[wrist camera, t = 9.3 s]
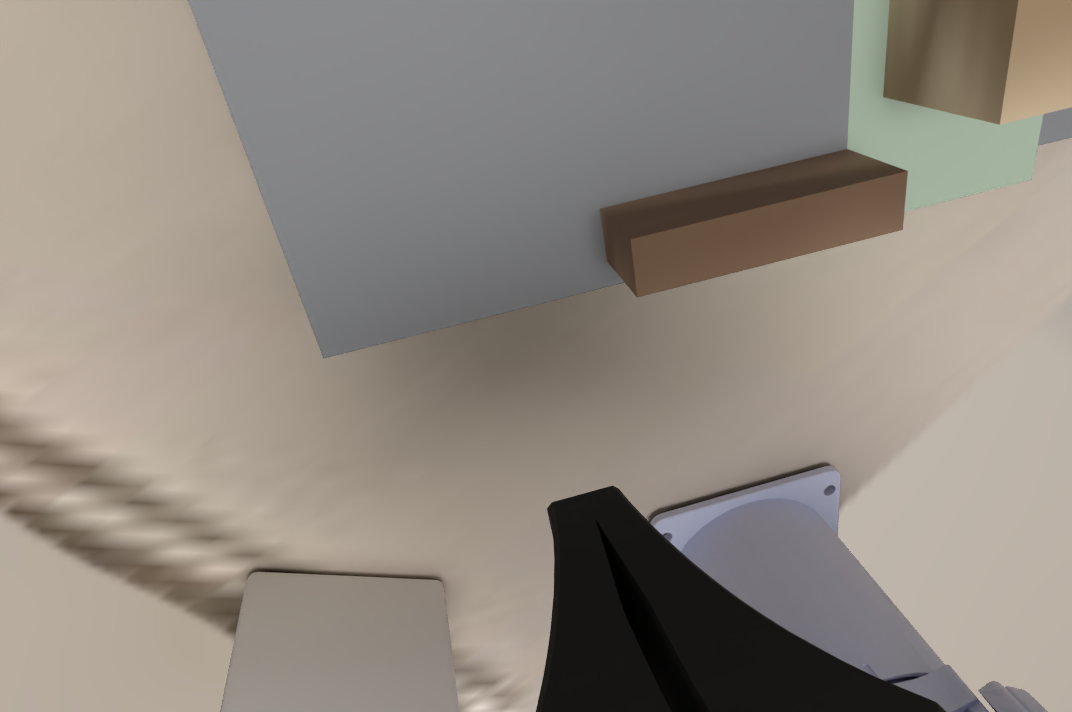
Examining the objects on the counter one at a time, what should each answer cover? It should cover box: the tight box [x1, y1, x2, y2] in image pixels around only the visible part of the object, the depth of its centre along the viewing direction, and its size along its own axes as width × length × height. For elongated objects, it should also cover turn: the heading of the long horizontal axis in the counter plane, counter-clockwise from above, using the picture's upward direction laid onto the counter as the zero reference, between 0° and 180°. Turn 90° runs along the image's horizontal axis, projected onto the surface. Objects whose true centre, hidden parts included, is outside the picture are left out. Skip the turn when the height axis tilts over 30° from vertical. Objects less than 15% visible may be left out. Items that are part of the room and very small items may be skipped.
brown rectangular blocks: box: [600, 149, 908, 297], centre depth 16 cm, size 10×7×2 cm
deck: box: [188, 0, 1072, 358], centre depth 19 cm, size 11×28×3 cm, turn 100°
